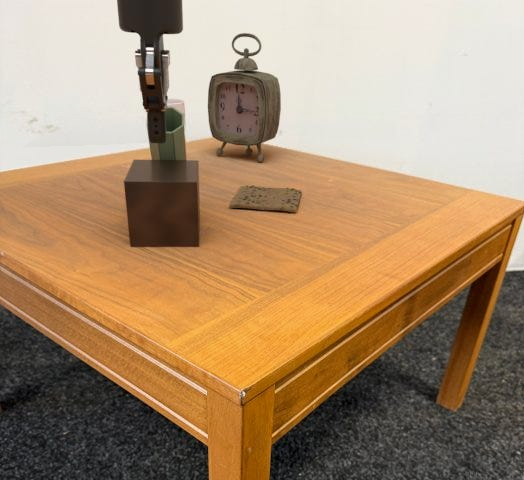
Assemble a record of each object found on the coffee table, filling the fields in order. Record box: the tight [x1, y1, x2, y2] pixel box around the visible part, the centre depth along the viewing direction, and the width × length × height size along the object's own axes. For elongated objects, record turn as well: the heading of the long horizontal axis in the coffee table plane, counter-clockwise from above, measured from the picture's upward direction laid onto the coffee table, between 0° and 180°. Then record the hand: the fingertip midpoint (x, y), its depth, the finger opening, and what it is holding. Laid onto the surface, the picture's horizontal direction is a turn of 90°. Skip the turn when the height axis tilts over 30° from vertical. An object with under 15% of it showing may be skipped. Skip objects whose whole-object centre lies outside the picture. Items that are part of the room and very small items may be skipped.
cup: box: [146, 107, 188, 160], centre depth 86 cm, size 9×6×6 cm
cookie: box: [228, 185, 303, 214], centre depth 100 cm, size 12×12×1 cm
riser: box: [123, 159, 201, 247], centre depth 83 cm, size 10×12×10 cm
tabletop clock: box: [207, 32, 282, 163], centre depth 121 cm, size 14×9×25 cm, turn 64°
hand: (158, 141), depth 73 cm, fingers closed
